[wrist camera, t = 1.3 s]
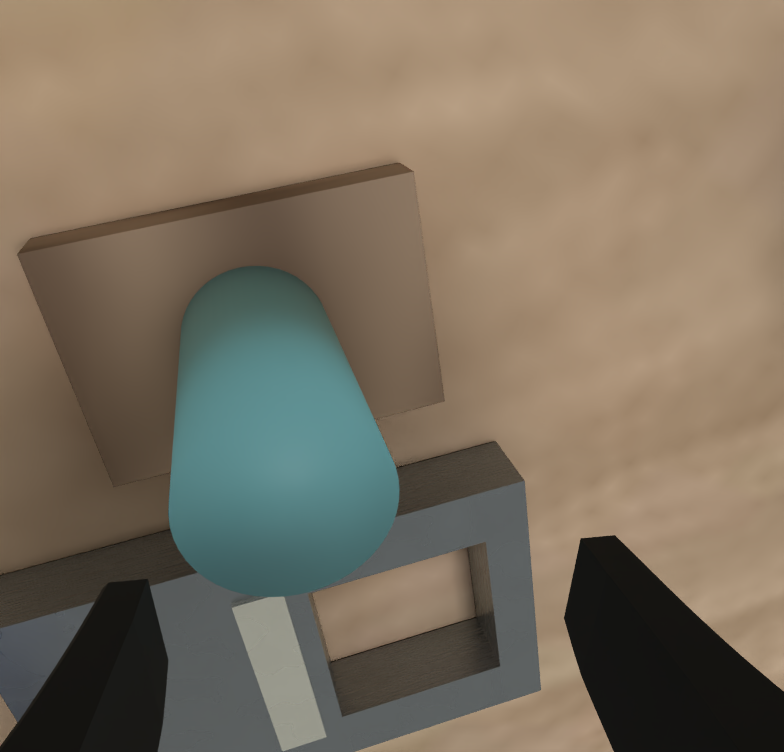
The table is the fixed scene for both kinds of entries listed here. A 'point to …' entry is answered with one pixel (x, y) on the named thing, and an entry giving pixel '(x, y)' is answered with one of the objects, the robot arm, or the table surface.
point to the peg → (273, 442)
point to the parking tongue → (215, 256)
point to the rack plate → (307, 628)
